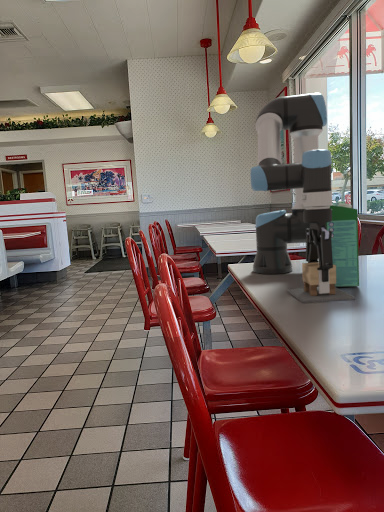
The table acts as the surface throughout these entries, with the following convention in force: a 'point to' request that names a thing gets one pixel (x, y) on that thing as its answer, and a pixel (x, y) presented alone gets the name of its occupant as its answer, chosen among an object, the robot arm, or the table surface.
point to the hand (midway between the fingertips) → (319, 289)
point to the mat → (320, 296)
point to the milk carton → (345, 244)
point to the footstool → (316, 278)
